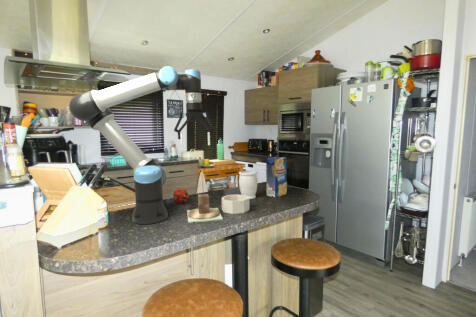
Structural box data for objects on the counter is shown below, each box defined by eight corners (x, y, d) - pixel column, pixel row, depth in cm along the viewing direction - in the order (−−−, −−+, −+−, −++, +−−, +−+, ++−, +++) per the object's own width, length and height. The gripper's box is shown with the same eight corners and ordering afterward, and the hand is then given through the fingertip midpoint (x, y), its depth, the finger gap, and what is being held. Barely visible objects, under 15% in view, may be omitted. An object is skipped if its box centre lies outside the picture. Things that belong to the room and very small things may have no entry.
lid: (188, 220, 117) (187, 200, 116) (187, 210, 131) (187, 192, 130) (221, 217, 120) (221, 198, 119) (217, 208, 134) (216, 190, 133)
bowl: (224, 214, 126) (224, 202, 125) (220, 206, 139) (220, 195, 138) (251, 212, 129) (251, 200, 128) (245, 205, 141) (244, 193, 141)
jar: (257, 195, 161) (257, 170, 160) (257, 199, 151) (257, 173, 149) (240, 195, 162) (239, 170, 161) (238, 199, 152) (238, 173, 150)
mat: (188, 223, 116) (188, 221, 116) (187, 211, 132) (187, 210, 132) (222, 220, 119) (222, 218, 119) (217, 208, 135) (217, 207, 135)
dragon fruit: (179, 202, 155) (185, 210, 145) (167, 195, 151) (173, 203, 141) (187, 189, 156) (194, 197, 146) (176, 182, 151) (182, 190, 141)
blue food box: (286, 193, 164) (286, 157, 161) (275, 197, 156) (275, 159, 154) (277, 192, 169) (277, 156, 166) (266, 195, 161) (266, 158, 158)
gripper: (167, 101, 127) (169, 146, 129) (220, 101, 132) (221, 145, 134) (168, 103, 134) (170, 145, 136) (218, 103, 139) (219, 144, 141)
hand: (195, 145), depth 135 cm, fingers open, 13 cm apart
